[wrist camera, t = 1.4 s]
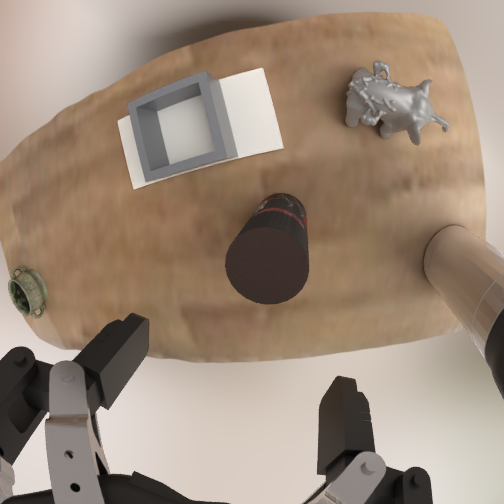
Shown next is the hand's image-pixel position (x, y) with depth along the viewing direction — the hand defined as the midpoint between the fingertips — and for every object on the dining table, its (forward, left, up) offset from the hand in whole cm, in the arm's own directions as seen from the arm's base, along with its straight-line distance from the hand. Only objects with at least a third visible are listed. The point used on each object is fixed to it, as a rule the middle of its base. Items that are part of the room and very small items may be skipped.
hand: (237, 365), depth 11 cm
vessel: (+46, +27, -25) cm, 59 cm away
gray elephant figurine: (-9, -17, -25) cm, 32 cm away
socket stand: (+13, -8, -25) cm, 29 cm away
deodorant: (0, 0, -25) cm, 25 cm away
